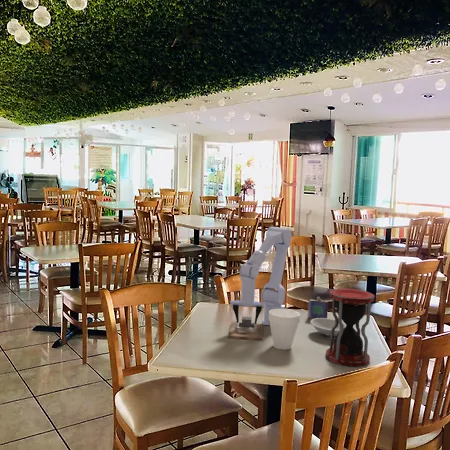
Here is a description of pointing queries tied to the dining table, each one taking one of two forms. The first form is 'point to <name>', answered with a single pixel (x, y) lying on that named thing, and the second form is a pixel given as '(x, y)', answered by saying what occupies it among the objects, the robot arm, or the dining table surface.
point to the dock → (246, 331)
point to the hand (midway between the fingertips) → (246, 323)
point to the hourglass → (349, 327)
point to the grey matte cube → (246, 322)
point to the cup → (283, 327)
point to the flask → (317, 308)
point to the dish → (325, 326)
